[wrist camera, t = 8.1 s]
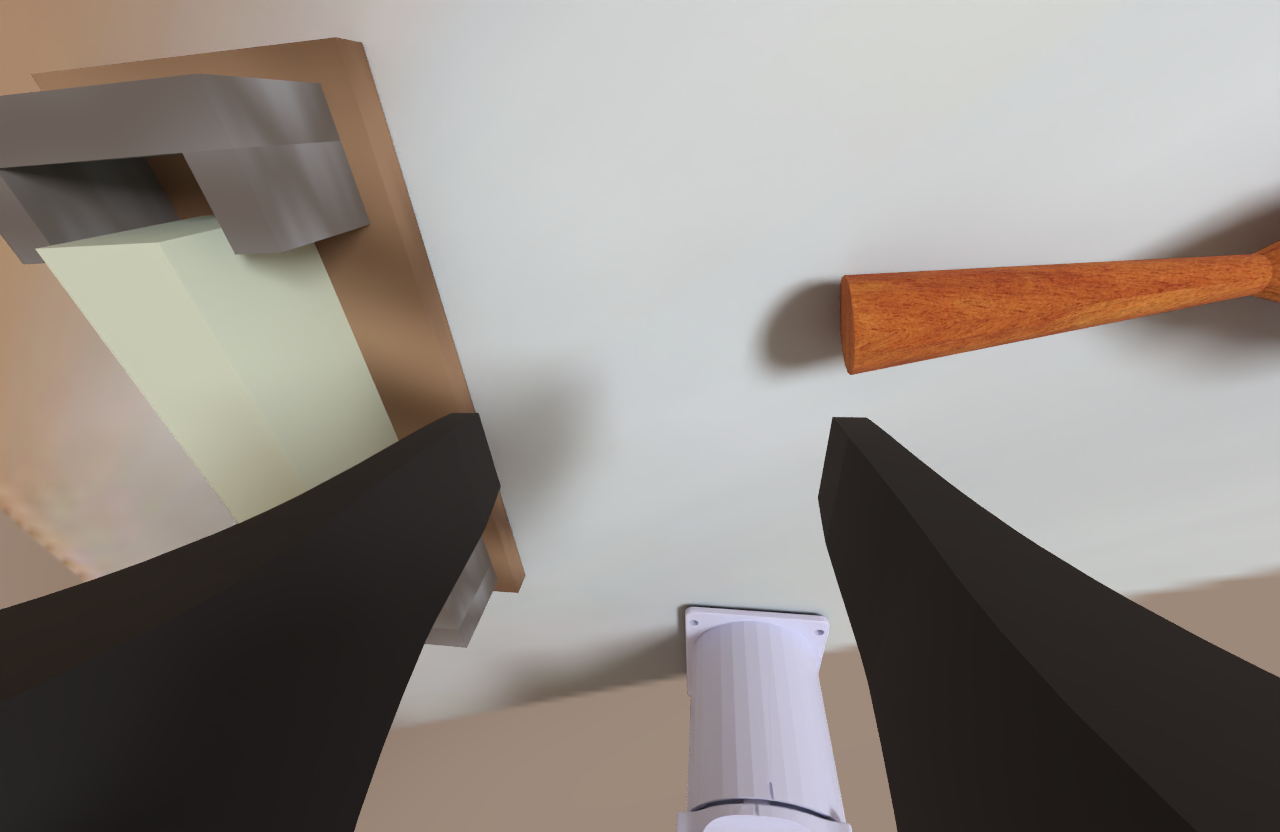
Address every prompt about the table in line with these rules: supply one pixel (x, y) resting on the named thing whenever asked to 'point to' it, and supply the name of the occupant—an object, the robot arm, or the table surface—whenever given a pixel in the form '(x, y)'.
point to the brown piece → (1029, 302)
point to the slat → (232, 355)
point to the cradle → (259, 211)
